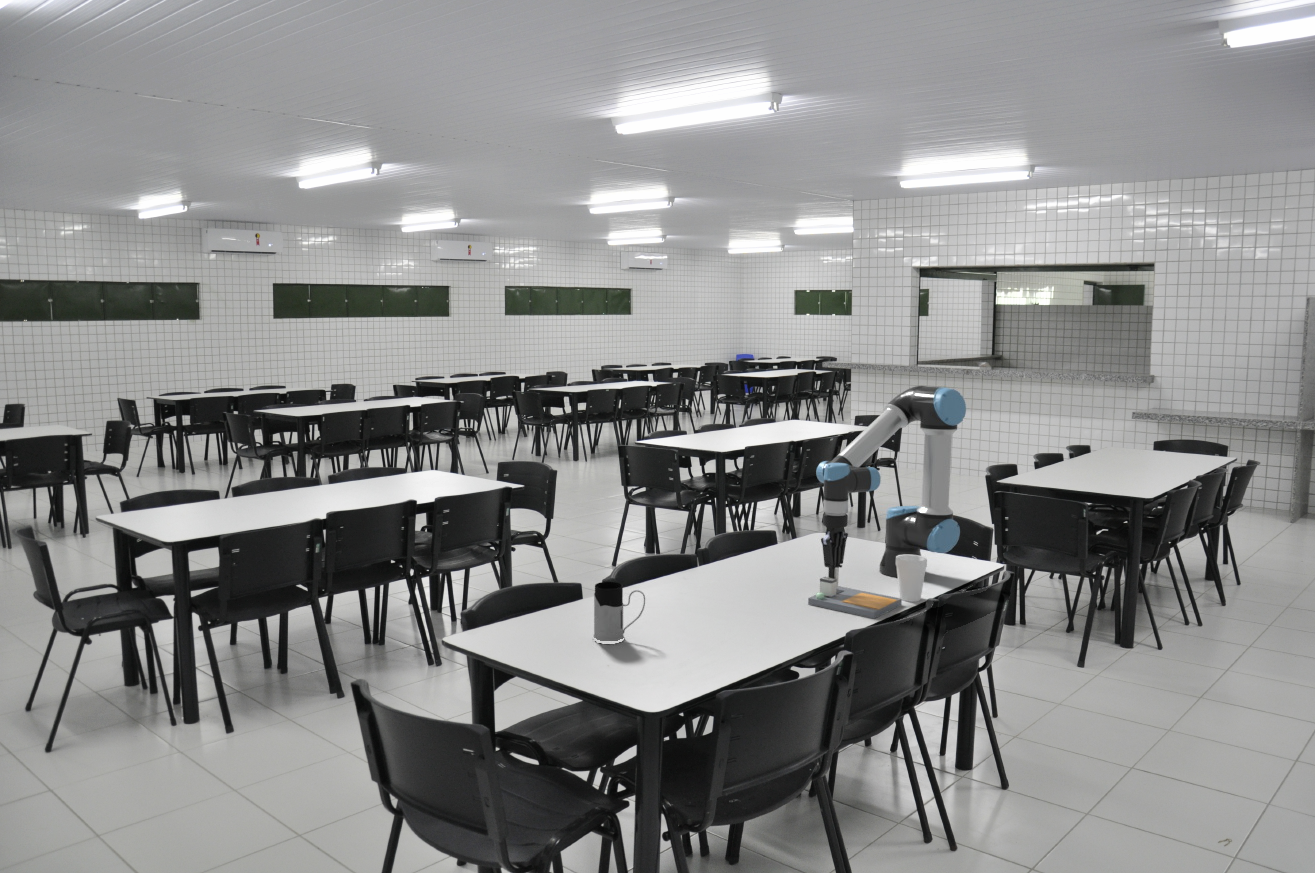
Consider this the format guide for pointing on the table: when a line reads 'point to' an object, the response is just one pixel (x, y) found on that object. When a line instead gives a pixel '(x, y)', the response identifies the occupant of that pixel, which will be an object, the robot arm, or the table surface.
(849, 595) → the grey flat block
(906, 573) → the foam cup
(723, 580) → the table surface
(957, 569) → the table surface
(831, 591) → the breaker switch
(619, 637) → the glass holder
